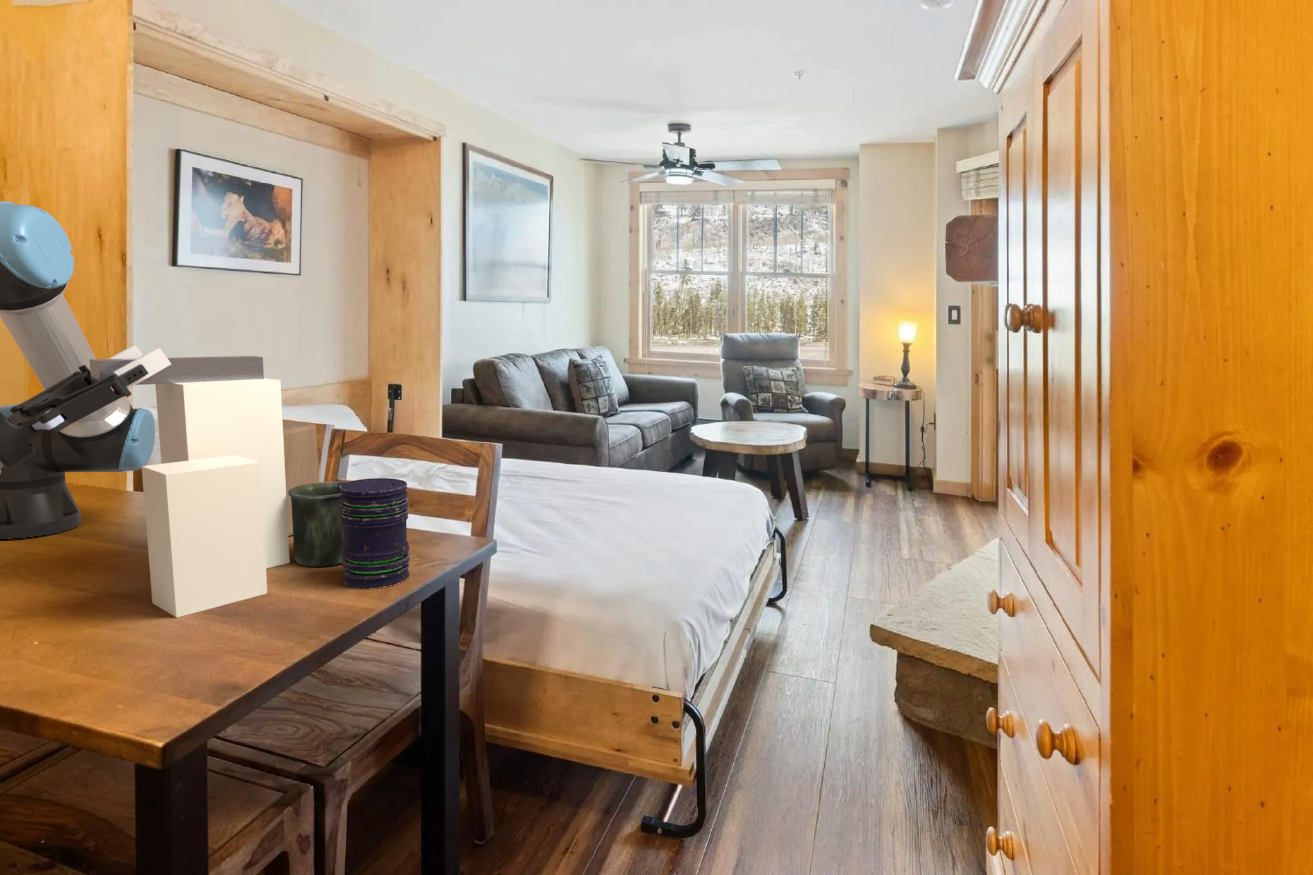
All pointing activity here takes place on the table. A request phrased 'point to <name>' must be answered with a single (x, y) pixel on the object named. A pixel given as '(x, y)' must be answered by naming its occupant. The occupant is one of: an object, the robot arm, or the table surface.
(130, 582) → the table surface
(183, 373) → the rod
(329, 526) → the mug
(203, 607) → the step
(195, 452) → the stand
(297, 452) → the block
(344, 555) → the dark purple barrel
